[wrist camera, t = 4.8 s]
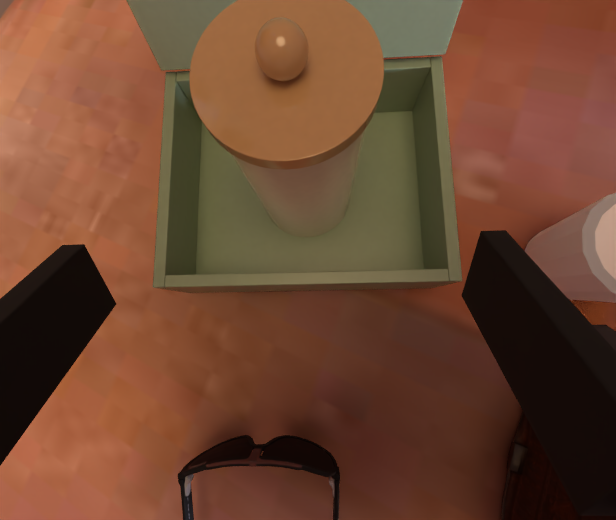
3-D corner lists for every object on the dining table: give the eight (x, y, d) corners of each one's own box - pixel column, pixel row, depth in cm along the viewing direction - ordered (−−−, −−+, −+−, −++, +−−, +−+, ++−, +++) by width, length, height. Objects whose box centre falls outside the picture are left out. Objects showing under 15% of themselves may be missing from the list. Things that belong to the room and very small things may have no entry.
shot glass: (506, 225, 26) (571, 194, 19) (594, 216, 26) (691, 181, 19) (523, 311, 25) (598, 311, 18) (616, 303, 25) (727, 299, 18)
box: (432, 288, 26) (462, 281, 20) (189, 292, 27) (152, 287, 21) (418, 107, 28) (441, 56, 23) (196, 118, 29) (165, 71, 24)
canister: (331, 136, 27) (337, -99, 12) (370, 218, 26) (435, 76, 10) (245, 172, 27) (137, -16, 12) (280, 256, 26) (210, 171, 10)
